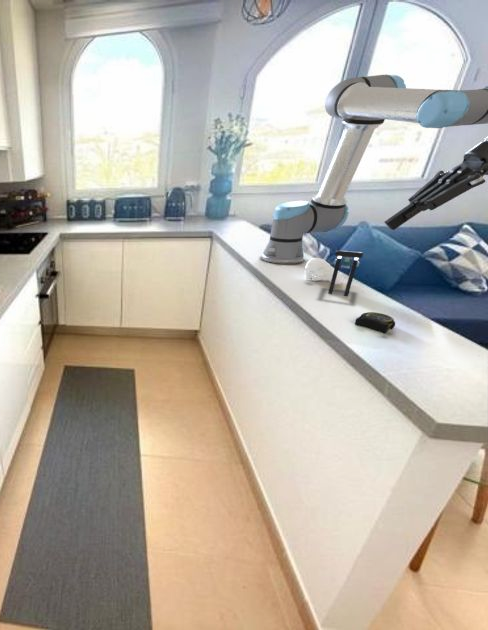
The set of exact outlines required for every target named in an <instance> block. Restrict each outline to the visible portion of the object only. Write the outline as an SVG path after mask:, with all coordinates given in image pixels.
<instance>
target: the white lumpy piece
mask: <svg viewBox="0 0 488 630" xmlns="http://www.w3.org/2000/svg"><path fill="white" fill-rule="evenodd" d="M334 268H335V267H333V266H332V265H331V264H330V263H329V262H327V261H326V260H325V259H323V258H320V257H311V258H310V259H309V260H308V261H307V262H306V264H305V266H304V278H305V280H306V281H309V282H311V281H313V282H317V281H328V282H331V280H332V276H333V272H334ZM345 280H346V276H345V274H344V273H341V272H340V271H338V273H337V277H336V281H335V285H337V284H344V283H345Z"/></svg>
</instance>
